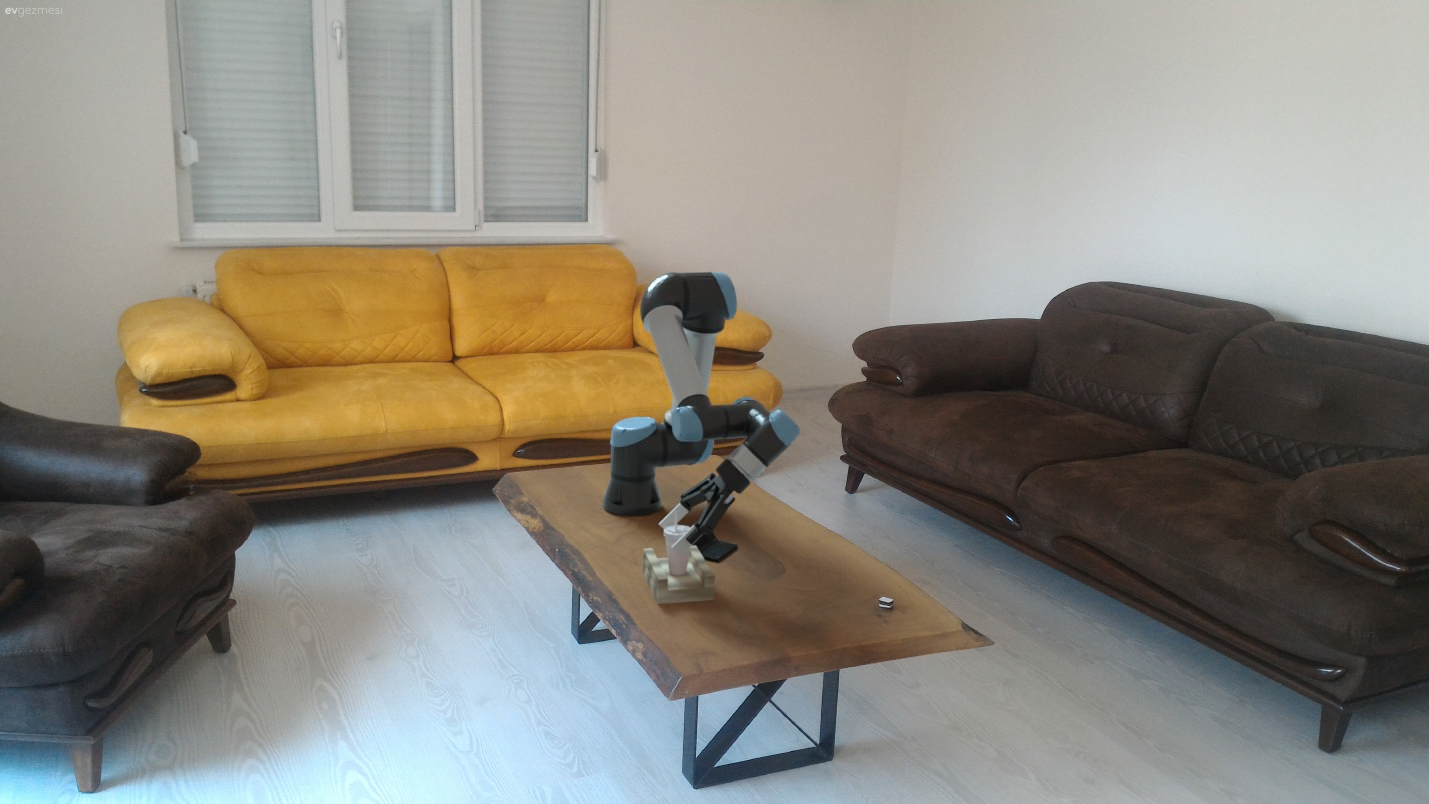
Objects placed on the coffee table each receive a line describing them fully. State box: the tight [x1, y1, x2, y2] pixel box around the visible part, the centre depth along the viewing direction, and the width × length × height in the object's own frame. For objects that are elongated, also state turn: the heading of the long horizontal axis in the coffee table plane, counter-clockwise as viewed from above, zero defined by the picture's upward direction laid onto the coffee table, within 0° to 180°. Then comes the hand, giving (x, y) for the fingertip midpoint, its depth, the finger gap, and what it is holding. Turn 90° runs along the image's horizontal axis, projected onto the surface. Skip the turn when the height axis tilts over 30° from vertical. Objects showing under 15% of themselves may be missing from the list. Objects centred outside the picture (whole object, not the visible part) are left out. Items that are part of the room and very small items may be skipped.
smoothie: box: [663, 511, 691, 576], centre depth 219 cm, size 6×6×14 cm
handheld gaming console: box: [692, 531, 738, 563], centre depth 240 cm, size 12×7×10 cm
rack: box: [642, 546, 716, 605], centre depth 220 cm, size 17×12×6 cm
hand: (669, 539), depth 218 cm, fingers open, 13 cm apart
